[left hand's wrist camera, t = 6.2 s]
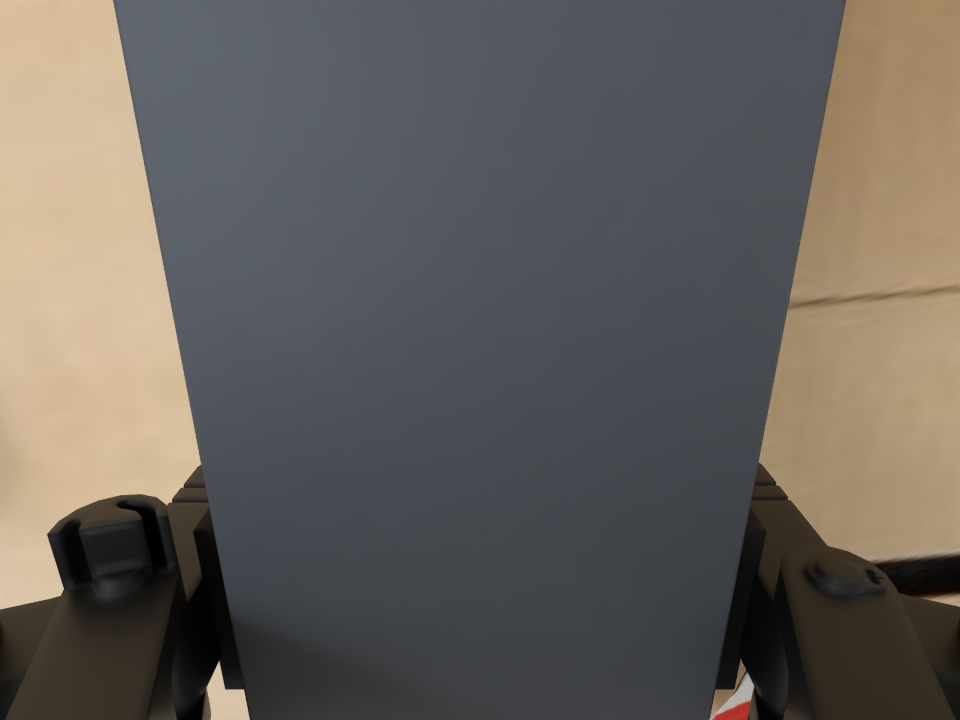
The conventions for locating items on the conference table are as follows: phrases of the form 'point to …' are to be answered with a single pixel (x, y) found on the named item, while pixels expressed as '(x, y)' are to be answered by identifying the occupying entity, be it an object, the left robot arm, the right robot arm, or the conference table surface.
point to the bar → (479, 332)
